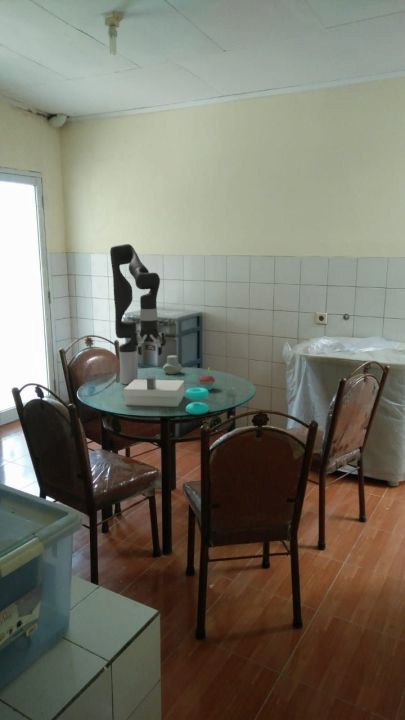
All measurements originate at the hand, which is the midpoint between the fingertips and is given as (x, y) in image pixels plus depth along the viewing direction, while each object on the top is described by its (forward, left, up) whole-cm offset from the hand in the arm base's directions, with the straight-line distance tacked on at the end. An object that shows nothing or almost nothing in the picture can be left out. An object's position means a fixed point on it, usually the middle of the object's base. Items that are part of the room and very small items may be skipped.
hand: (150, 355), depth 228 cm
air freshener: (-63, -3, -24) cm, 67 cm away
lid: (-6, 0, -18) cm, 19 cm away
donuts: (+8, +22, -24) cm, 33 cm away
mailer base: (-7, 0, -23) cm, 24 cm away
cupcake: (-30, +21, -23) cm, 44 cm away
